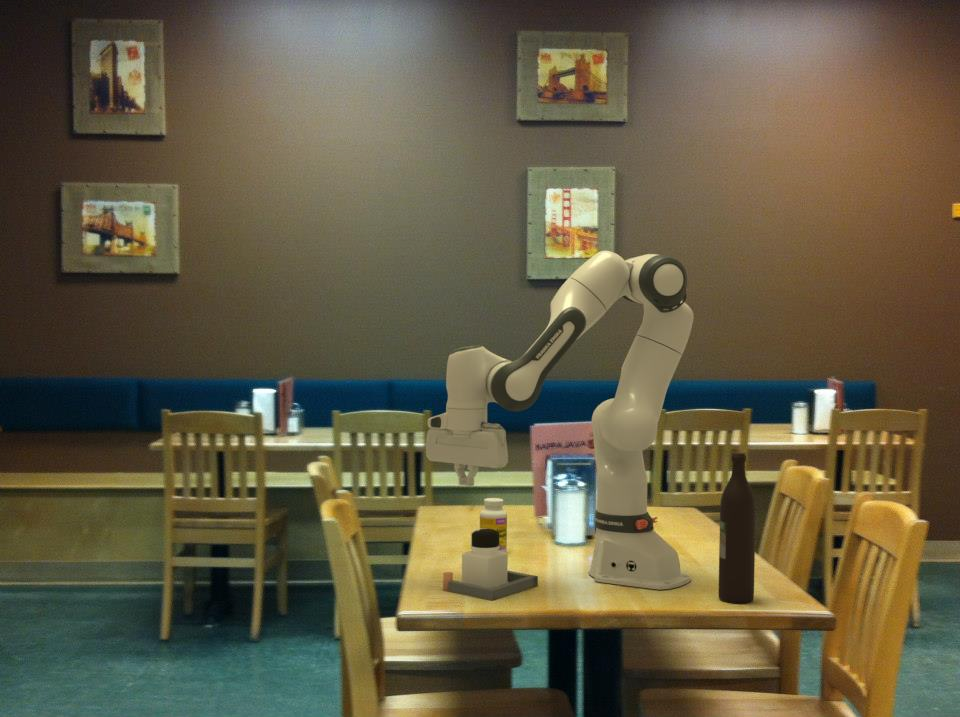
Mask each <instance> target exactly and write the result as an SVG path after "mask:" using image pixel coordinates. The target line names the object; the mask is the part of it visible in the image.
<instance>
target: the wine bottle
mask: <svg viewBox="0 0 960 717" xmlns="http://www.w3.org/2000/svg"><path fill="white" fill-rule="evenodd" d="M731 462H732V465H731V466H732V469H731V475H730V478H729V479H728V482H727V484H726V486H725V487H724V490H723V491H722V494H721V498H720V503H719V504H720V505H719V508H720V509H719V546H718V547H719V549H718V550H719V553H718V555H719V556H718V557H719V558H718V598H719V600H721V601H724V602H725V601H726V603H730V602H732V604H747V603H746V602H749V603H751V601H752V602H753V601H754V598H755V565H756V564H755V562H756V561H755V560H756V556H755V555H756V551H755V550H756V517H757V516H756V513H757V512H756V498H755V494H754V492H753V489H752V488H751V485H750V484H749V482H748V479H747V477H746V470H745V469H746V462H747V455H746V453H745V452H732V454H731Z"/></svg>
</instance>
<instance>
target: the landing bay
mask: <svg viewBox="0 0 960 717" xmlns="http://www.w3.org/2000/svg"><path fill="white" fill-rule="evenodd" d="M453 576H454V573H453V572H451V571H450V572H448V571H447V572H443V573H442V577H443V578H442V579H443V580H442V590H443V591H445V592H450V593H455V594H460V595H465V596H469V597H475V598H478V599H482V600H483V599H484V600H489V601H495V600H499V599H501V598H504V597H508V596H511V595H513V594H516V593H520V592H523V591H526V590H529V589H531V588H535V587H538V586H539V576H537V575H533V574H528V573H523V572H517V571H513V570H508V572H507V583H506V584H502V585H499V586H496V587H493V588H488V587H483V586H478V585H473V584H468V583H464V582H462V581H458V580H454V577H453Z"/></svg>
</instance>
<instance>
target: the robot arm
mask: <svg viewBox="0 0 960 717" xmlns="http://www.w3.org/2000/svg"><path fill="white" fill-rule="evenodd" d="M687 286H688V274H687V271H686V268H685V266H684V265H683V263H681V262H680V261H679V260H678V259H677V258H676V257H672V256H671V255H667V254H657V253H647V254H643V255H634V256H630V257H628V258H623V257H622V256H620V255H619V254H617V253H616V252H614V251H611V250H601V251H599V252H597V253H595V254H594V255H593V256H591V257H590V258H589V259H587V260H586V261H585V262H584V263H582V265H580V266H579V267H578V268H577V269H575V270H574V272H573V273H572V274H571V275H570V276H568V278H567V279H566V280H565V281H564V283H563V284H562V285H561V286H560V287H559V289H558V290H557V291H556V293H555V294H554V296H553V298H552V299H551V301H550V307H549V309H550V319H549V322H548V325H547V326H546V328H545V330H543V332H542V333H541V334H540V335H539V336H538V338H537V339H536V340H535V341H534V343H532V345H531V346H530V347H529V348H528V350H527V351H525V353H524V354H523V355H522V356H521V357H519V358H517V359H516V360H514V361H512V360H510V359H507V358H503V357H502V356H499V355H497V354H496V353H493V352H492V351H489V350H488V349H487V348H486V347H485V346H484V345H481V344H474V345H467V346H466V345H465V346H462V347H458V348H455V349H454V350H452V351H451V352H450V353H449V355H448V359H447V364H446V377H445V378H446V379H445V381H446V382H445V387H446V392H447V401H446V404H445V406H446V407H445V412H443V413H441V414H438V415H434V416H431V417H429V418H428V419H427V427H428V428H429V429H428V430H427V433H426V439H425V440H426V441H425V442H426V443H425V455H426V457H427V460H428V461H431V462H438V463H439V462H440V463H448V464H453V466H454V468H453V470H454V471H455V473H456V475H457V476H458V486H459V485H460V486H466V487H473V486H474V485H475V477H476V476H477V473H479V470H480V467H481V468H490V469H501V468H505V467H506V466H507V465H508V463H509V453H508V452H509V451H508V443H507V436H506V435H507V432H506V429H505V428H504V427H503V426H501V424H500V423H490V422H488V404H489V403H496V404H498V406H499V407H501V408H502V409H504V410H506V411H510V412H521V411H526V410H527V409H529V408H531V407H532V406H533V405H534V404H535V403H536V401H537V400H538V398H539V396H540V394H541V391H542V388H543V385H544V382H545V380H546V377H548V375H549V373H550V372H551V371H552V370H553V368H554V367H555V366H556V365H557V363H558V362H559V361H560V359H561V358H563V356H564V355H565V354H566V353H567V351H569V349H570V347H571V346H572V345H573V344H574V343H575V342H576V341H577V340H578V339H580V337H581V336H582V335H584V334H585V333H586V332H587V331H589V330H590V328H592V327H593V326H594V325H595V324H596V323H597V322H598V321H599V320H600V319H601V318H602V317H603V316H604V315H605V314H606V312H608V310H610V308H611V307H612V306H613V305H614V304H615V302H617V301H618V300H619V299H621V298H623V299H624V300H626V301H628V302H632V303H637V304H641V305H642V306H643V317H642V318H643V319H642V323H641V324H640V326H639V329H638V331H637V332H636V335H635V337H634V339H633V341H632V343H631V346H630V348H629V350H628V353H627V354H626V357H625V359H624V361H623V364H622V366H621V371H620V377H619V382H618V385H617V389H616V392H615V395H614V398H609V399H607V400H604V401H602V402H601V403H600V404H598V405H597V407H596V408H595V409H594V410H593V413H592V416H591V428H592V437H593V447H594V450H593V451H594V457H595V458H594V459H595V467H596V478H597V479H596V480H597V482H596V483H597V484H596V488H597V489H596V510H595V511H594V531H595V532H594V533H595V540H594V548H593V554H592V560H591V564H590V568H589V570H588V574H589V575H590V576H591V577H593V578H594V581H595V582H598V583H605V584H613V585H620V586H626V587H627V586H628V587H636V588H643V589H651V590H659V591H660V590H670V589H671V590H672V589H675V588H678V587H681V586H684V585H687V584H688V583H690V582H691V574H689V573H687V572H683V571H681V564H680V563H681V562H680V557H679V554H678V552H677V550H676V549H675V548H673V546H672V545H671V544H669V543H668V542H667V541H666V540H665V539H664V538H663V537H661V536H660V534H659V533H657V532H656V530H655V526H654V524H655V523H658V520H657V519H658V517H657V516H655V517H652V516H651V515H650V514H649V512H648V474H647V472H646V468H645V467H646V466H645V461H644V454H643V452H644V450H647V449H648V448H649V447H650V446H652V445H653V443H654V442H655V440H656V438H657V435H658V424H659V420H660V417H661V413H662V409H663V406H664V402H665V398H666V394H667V391H668V388H669V386H670V383H671V382H672V378H673V377H674V374H675V372H676V369H677V367H678V365H679V363H680V360H681V358H682V357H683V355H684V352H685V349H686V346H687V344H688V341H689V338H690V336H691V331H692V328H693V323H694V312H693V310H692V308H691V307H690V306H689V305H688V304H687V303H686V300H687ZM466 466H467V471H468V474H467V475H466V471H465V469H466Z"/></svg>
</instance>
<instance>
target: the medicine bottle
mask: <svg viewBox="0 0 960 717" xmlns="http://www.w3.org/2000/svg"><path fill="white" fill-rule="evenodd" d="M498 550H499V532H498V531H496V530H494V529H480V528H477V529H474V530H472V531H471V532H470V551H467V552H463V553H462V554H461V582H464V583H468V584H473V585H478V586H483V587H488V588H493V587H496V586H499V585H502V584H506V583H508V582H507V572H508V571H509V570H508V567H509V566H508V564H509V562H508V561H509V560H508V558H509V557H508V556H509V555H508V552H507V551H506V552H502V551H498Z"/></svg>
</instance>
